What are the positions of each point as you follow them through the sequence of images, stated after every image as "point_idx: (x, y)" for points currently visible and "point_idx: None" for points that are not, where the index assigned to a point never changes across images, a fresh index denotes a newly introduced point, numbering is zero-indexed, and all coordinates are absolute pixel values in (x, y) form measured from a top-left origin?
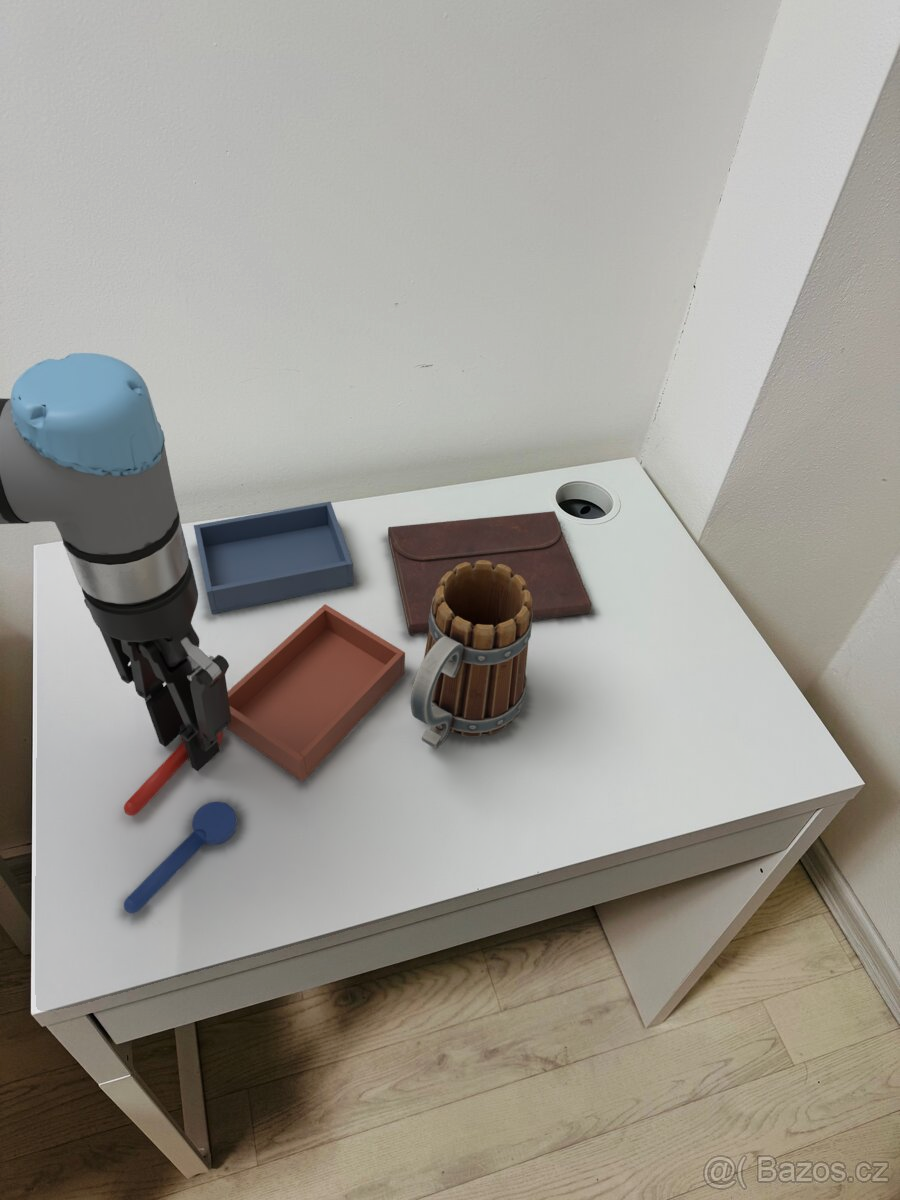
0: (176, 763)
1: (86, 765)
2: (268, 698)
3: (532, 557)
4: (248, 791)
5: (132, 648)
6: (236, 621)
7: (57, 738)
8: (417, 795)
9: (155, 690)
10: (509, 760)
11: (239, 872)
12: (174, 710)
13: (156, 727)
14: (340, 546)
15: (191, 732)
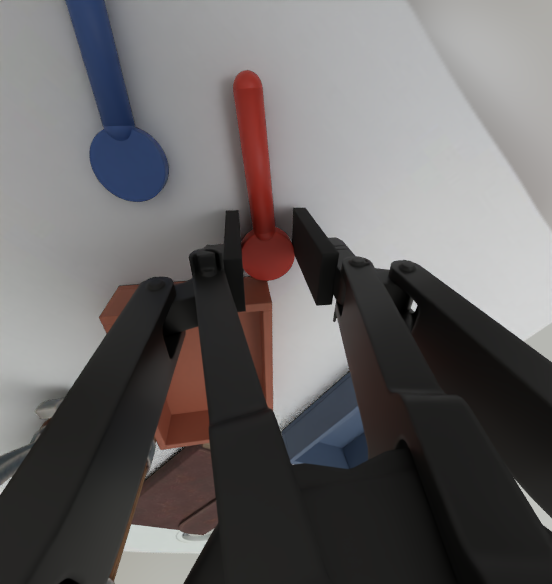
0: (252, 199)
1: (375, 105)
2: (245, 329)
3: (181, 515)
4: (154, 234)
5: (445, 512)
6: (346, 357)
7: (444, 111)
8: (14, 351)
9: (337, 282)
10: (4, 420)
11: (26, 125)
12: (304, 263)
13: (310, 224)
14: (310, 463)
15: (200, 269)
